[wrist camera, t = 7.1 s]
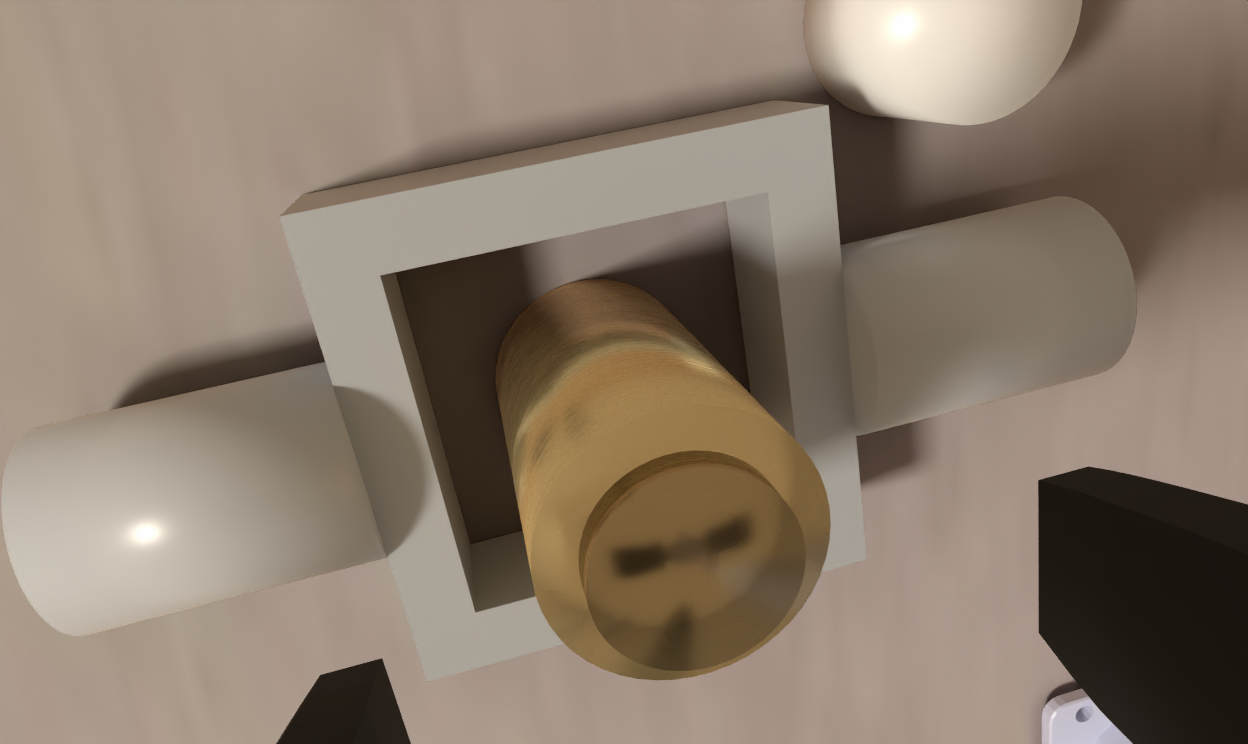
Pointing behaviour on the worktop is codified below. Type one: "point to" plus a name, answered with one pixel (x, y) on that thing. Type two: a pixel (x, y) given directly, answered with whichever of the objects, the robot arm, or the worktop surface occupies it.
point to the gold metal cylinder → (652, 487)
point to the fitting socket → (403, 414)
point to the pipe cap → (938, 54)
